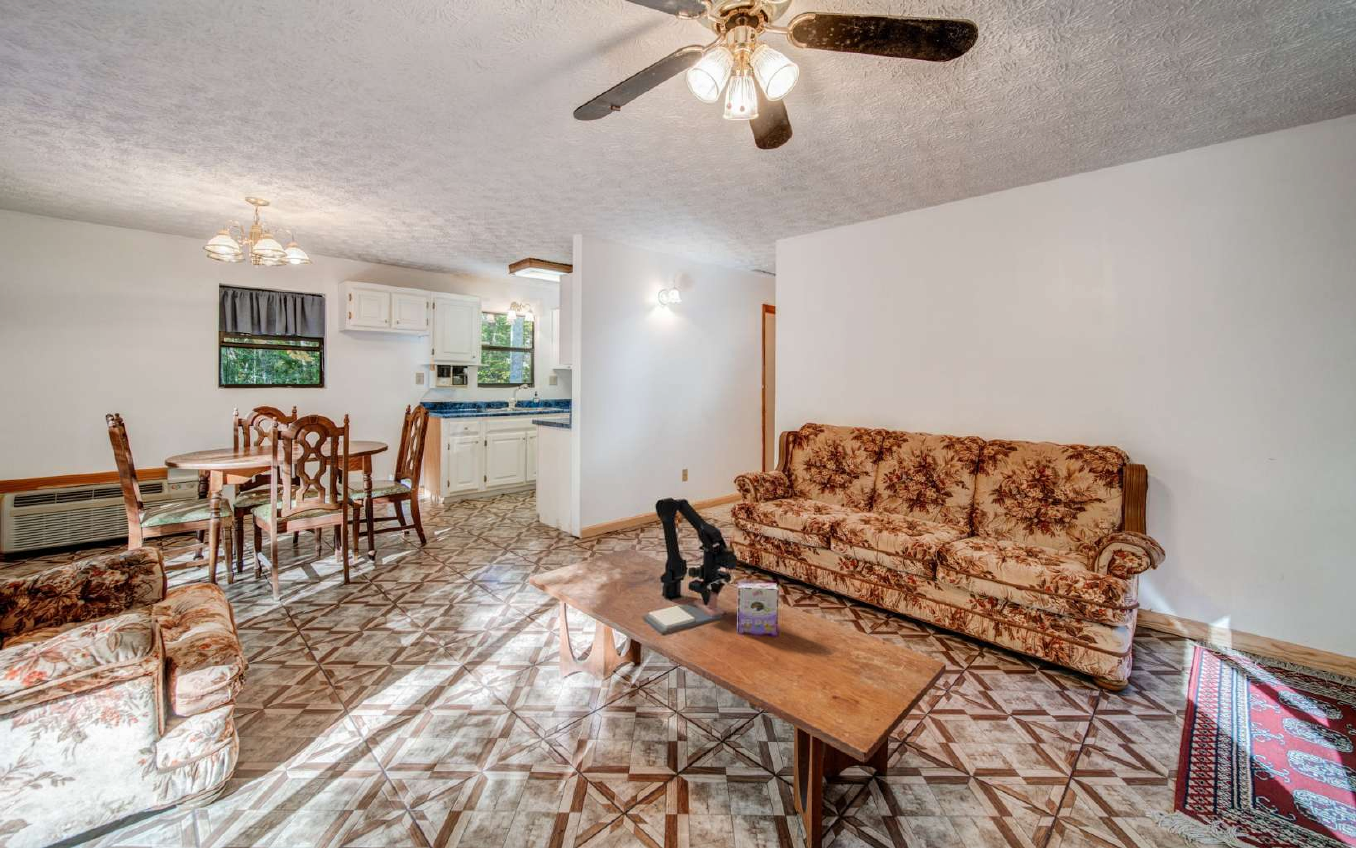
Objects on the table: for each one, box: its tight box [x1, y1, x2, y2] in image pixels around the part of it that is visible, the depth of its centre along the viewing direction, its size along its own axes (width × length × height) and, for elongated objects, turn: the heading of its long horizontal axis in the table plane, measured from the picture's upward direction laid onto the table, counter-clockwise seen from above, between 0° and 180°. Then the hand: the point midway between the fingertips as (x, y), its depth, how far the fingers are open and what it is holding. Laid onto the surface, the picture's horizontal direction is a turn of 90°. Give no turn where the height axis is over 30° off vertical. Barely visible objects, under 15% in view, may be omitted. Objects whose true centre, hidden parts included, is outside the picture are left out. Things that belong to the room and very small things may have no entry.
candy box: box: [736, 581, 779, 636], centre depth 181 cm, size 14×6×16 cm, turn 84°
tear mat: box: [641, 602, 724, 635], centre depth 190 cm, size 26×14×1 cm, turn 122°
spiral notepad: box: [648, 605, 695, 629], centre depth 188 cm, size 13×12×1 cm
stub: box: [693, 591, 726, 616], centre depth 196 cm, size 6×12×6 cm, turn 32°
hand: (709, 603), depth 197 cm, fingers open, 4 cm apart
